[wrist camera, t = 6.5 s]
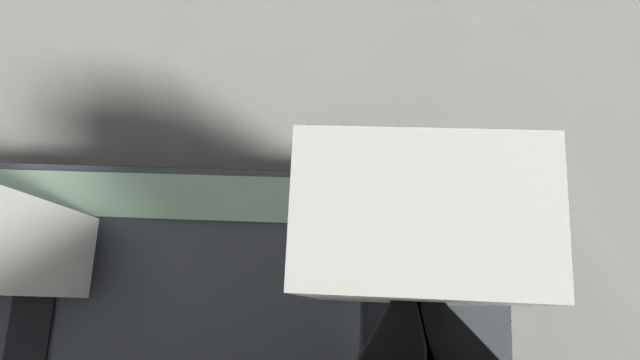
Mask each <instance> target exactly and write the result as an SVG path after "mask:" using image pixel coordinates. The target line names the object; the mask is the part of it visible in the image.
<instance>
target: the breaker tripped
mask: <svg viewBox="0 0 640 360" xmlns="http://www.w3.org/2000/svg"><path fill="white" fill-rule="evenodd" d="M284 293H288V294H293V295H298V296H304V297H309V298H314V299H320V300H337V301H359V302H382V303H389V302H390V301H391V300H399V301H421V302H444V303H446V304H447V305H450V306H548V305H575V303H574V286H573V269H572V252H571V236H570V219H569V202H568V186H567V169H566V152H565V135H564V131H554V130H508V129H462V128H416V127H370V126H324V125H293V139H292V157H291V174H290V191H289V209H288V226H287V244H286V261H285V278H284Z"/></svg>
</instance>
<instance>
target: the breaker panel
mask: <svg viewBox="0 0 640 360" xmlns="http://www.w3.org/2000/svg"><path fill="white" fill-rule="evenodd" d="M290 174H291V171H276V170H240V169H204V168H168V167H132V166H96V165H59V164H23V163H0V185H3V186H6V187H9V188H12V189H15V190H18V191H20V192H23V193H26V194H29V195H32V196H35V197H38V198H41V199H44V200H47V201H50V202H53V203H55V204H58V205H61V206H64V207H67V208H70V209H73V210H76V211H79V212H82V213H85V214H88V215H90V216H93V217H96V218H99V225H98V232H97V240H96V247H95V254H94V262H93V269H92V276H91V284H90V291H89V298H69V297H36V296H2V295H0V360H357V359H358V357H359V355H360V353H361V352H362V350H363V348H364V346H365V345H366V343H367V341H368V339H369V338H370V336H371V334H372V332H373V330H374V329H375V327H376V325H377V323H378V322H379V320H380V318H381V316H382V315H383V313H384V311H385V309H386V308H387V306H388V304H389V303H382V302H359V301H337V300H320V299H314V298H309V297H304V296H298V295H293V294H288V293H284V278H285V261H286V244H287V226H288V209H289V191H290ZM448 306H449V307H450V308H451V309H452V310H453V311H454V312H455V313H456V314H457V315H458V316H459V317H460V318H461V319H462V320H463V322H464V323H465V324H466V325H467V326H468V327H469V328H470V329H471V330H472V331H473V332H474V333H475V334H476V335H477V336H478V337H479V338H480V339H481V340H482V341H483V342H484V343H485V344H486V345H487V346H488V348H489V349H490V350H491V351H492V352H493V353H494V354H495V355H496V356H497V357H498V358H499V359H500V360H512V334H511V306H450V305H448Z"/></svg>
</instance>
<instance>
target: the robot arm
mask: <svg viewBox="0 0 640 360" xmlns="http://www.w3.org/2000/svg"><path fill="white" fill-rule="evenodd" d="M357 360H500V359H499V358H498V357H497V356H496V355H495V354H494V353H493V352H492V351H491V350H490V349H489V348H488V346H487V345H486V344H485V343H484V342H483V341H482V340H481V339H480V338H479V337H478V336H477V335H476V334H475V333H474V332H473V331H472V330H471V329H470V328H469V327H468V326H467V325H466V324H465V323H464V322H463V320H462V319H461V318H460V317H459V316H458V315H457V314H456V313H455V312H454V311H453V310H452V309H451V308H450V307H449V306H448V305H447V304H446V303H444V302H421V301H399V300H391V301H390V302H389V304H388V306H387V308H386V309H385V311H384V313H383V315H382V316H381V318H380V320H379V322H378V323H377V325H376V327H375V329H374V330H373V332H372V334H371V336H370V338H369V339H368V341H367V343H366V345H365V346H364V348H363V350H362V352H361V353H360V355H359V357H358V359H357Z"/></svg>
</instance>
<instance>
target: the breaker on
mask: <svg viewBox="0 0 640 360" xmlns="http://www.w3.org/2000/svg"><path fill="white" fill-rule="evenodd" d="M98 225H99V218H96V217H93V216H90V215H88V214H85V213H82V212H79V211H76V210H73V209H70V208H67V207H64V206H61V205H58V204H55V203H53V202H50V201H47V200H44V199H41V198H38V197H35V196H32V195H29V194H26V193H23V192H20V191H18V190H15V189H12V188H9V187H6V186H3V185H0V295H2V296H36V297H69V298H89V291H90V284H91V276H92V269H93V262H94V254H95V247H96V240H97V232H98Z"/></svg>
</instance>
